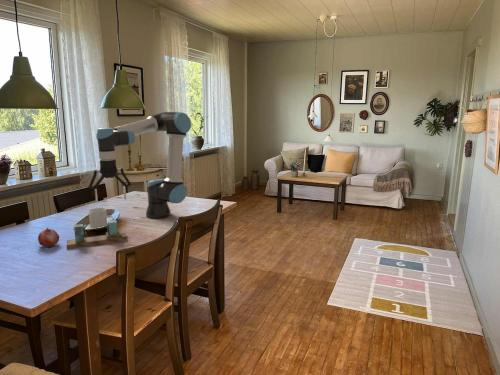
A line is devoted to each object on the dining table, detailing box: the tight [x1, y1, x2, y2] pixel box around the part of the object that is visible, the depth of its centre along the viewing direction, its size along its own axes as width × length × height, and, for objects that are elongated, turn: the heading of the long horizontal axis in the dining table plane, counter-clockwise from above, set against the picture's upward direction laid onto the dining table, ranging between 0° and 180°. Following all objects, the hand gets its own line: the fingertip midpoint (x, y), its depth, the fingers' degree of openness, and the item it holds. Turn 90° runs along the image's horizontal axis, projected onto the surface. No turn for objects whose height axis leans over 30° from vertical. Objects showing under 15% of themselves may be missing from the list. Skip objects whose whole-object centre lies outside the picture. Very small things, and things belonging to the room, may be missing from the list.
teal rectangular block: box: [106, 219, 119, 236], centre depth 190 cm, size 5×4×8 cm
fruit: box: [37, 227, 60, 248], centre depth 182 cm, size 9×10×10 cm
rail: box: [66, 223, 128, 250], centre depth 187 cm, size 28×7×10 cm, turn 115°
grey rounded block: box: [88, 207, 108, 229], centre depth 208 cm, size 12×9×11 cm
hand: (111, 200), depth 188 cm, fingers open, 13 cm apart
